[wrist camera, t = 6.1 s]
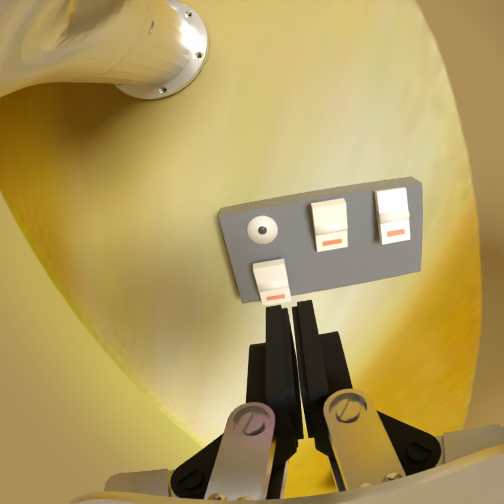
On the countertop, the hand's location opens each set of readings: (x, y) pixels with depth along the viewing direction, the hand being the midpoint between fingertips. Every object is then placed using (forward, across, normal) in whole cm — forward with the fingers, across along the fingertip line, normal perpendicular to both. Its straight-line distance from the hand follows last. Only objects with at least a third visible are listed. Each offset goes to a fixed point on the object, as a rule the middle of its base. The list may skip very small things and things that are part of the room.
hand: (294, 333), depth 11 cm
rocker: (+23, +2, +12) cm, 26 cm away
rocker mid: (+23, -5, +6) cm, 24 cm away
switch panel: (+27, -5, +9) cm, 29 cm away
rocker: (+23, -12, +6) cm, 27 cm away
